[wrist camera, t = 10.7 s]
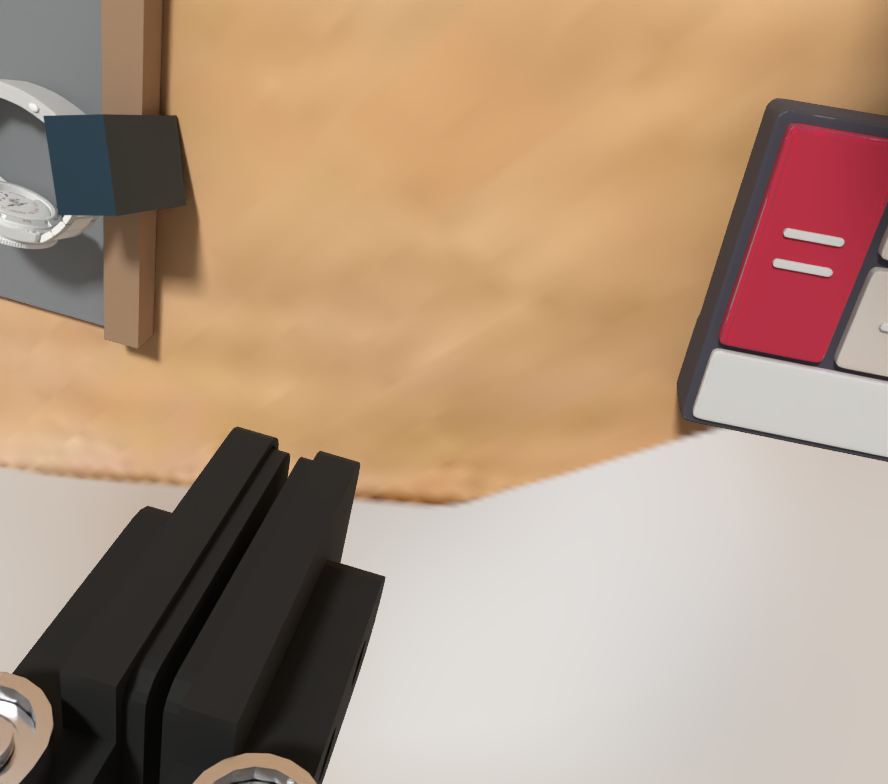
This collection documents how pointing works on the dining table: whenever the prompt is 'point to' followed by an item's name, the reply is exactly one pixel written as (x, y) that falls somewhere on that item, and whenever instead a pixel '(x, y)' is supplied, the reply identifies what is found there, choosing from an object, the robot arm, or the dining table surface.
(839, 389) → the calculator
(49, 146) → the watch
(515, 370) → the dining table surface
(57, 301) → the mat
